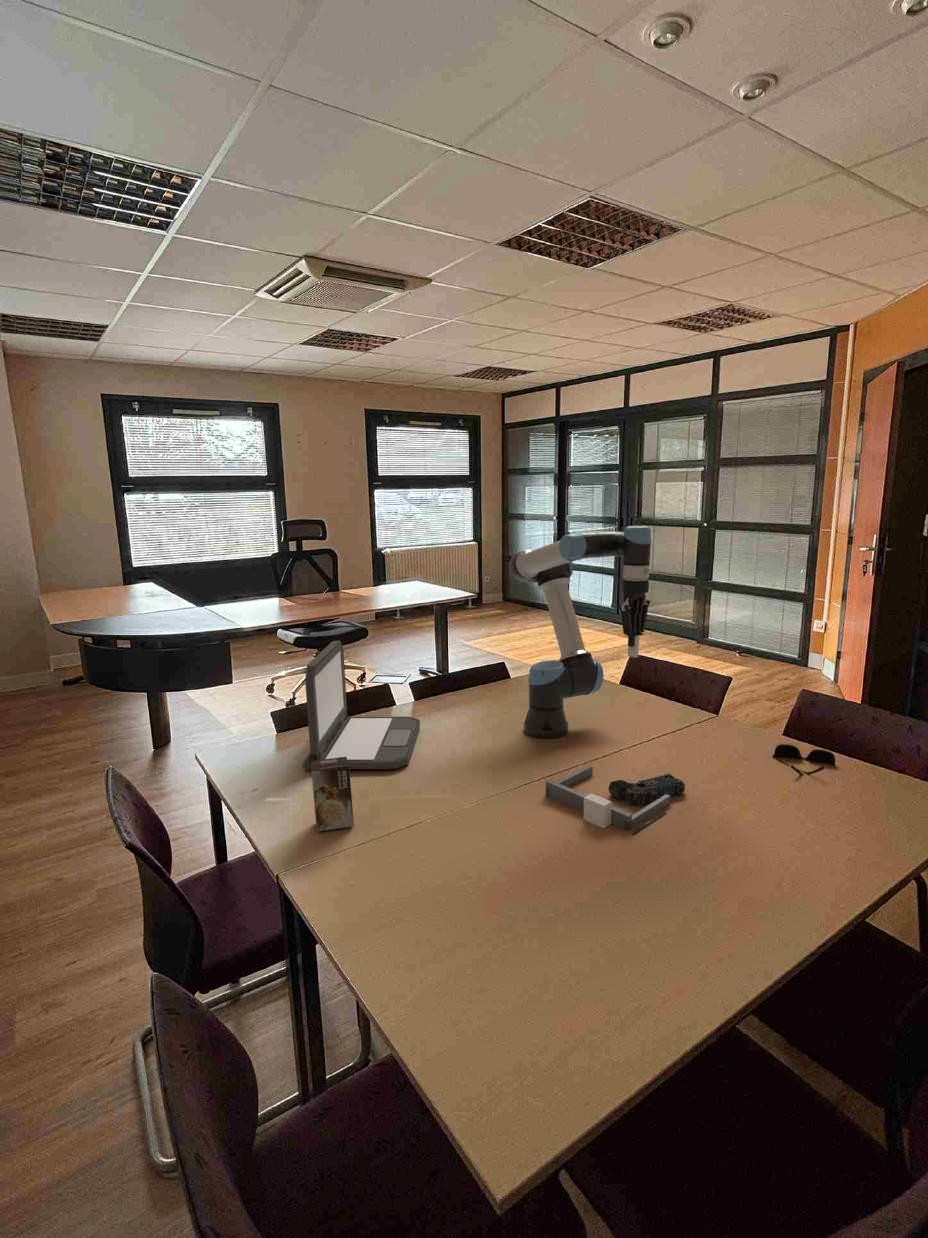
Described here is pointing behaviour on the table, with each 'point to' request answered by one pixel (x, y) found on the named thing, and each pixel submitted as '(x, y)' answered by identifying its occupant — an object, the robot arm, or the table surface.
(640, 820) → the dock
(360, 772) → the table surface
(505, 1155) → the table surface
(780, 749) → the sunglasses
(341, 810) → the coffee box
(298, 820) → the table surface
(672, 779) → the toy gun
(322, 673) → the laptop
